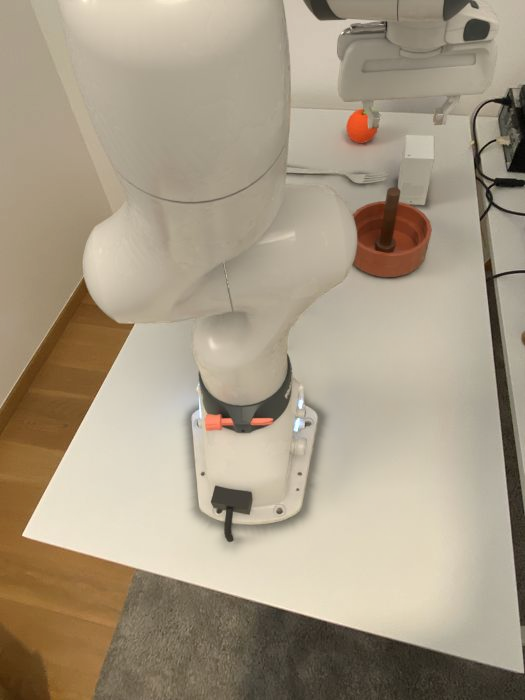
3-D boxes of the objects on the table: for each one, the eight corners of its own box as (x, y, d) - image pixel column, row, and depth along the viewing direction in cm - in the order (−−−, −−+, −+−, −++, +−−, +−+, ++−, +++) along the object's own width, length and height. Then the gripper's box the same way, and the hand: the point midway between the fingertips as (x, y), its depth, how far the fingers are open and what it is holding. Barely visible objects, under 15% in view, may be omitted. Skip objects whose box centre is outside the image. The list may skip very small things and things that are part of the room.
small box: (424, 206, 100) (435, 159, 91) (395, 204, 101) (403, 157, 92) (425, 181, 104) (435, 134, 96) (397, 180, 105) (405, 133, 97)
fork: (279, 165, 112) (278, 157, 110) (388, 178, 106) (389, 171, 104) (275, 173, 110) (274, 166, 108) (385, 187, 104) (387, 180, 103)
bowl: (431, 278, 88) (438, 253, 83) (348, 281, 90) (351, 256, 85) (418, 224, 97) (424, 199, 92) (343, 227, 98) (345, 202, 93)
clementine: (377, 129, 117) (381, 99, 111) (383, 146, 113) (387, 116, 107) (343, 133, 117) (345, 103, 111) (348, 150, 113) (350, 120, 107)
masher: (395, 254, 91) (406, 197, 81) (375, 255, 92) (383, 198, 82) (393, 240, 94) (403, 184, 83) (373, 241, 94) (381, 185, 84)
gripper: (339, 35, 61) (335, 140, 72) (513, 23, 59) (481, 132, 70) (336, 14, 64) (332, 117, 76) (500, 2, 63) (472, 109, 74)
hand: (405, 124), depth 73 cm, fingers open, 8 cm apart
